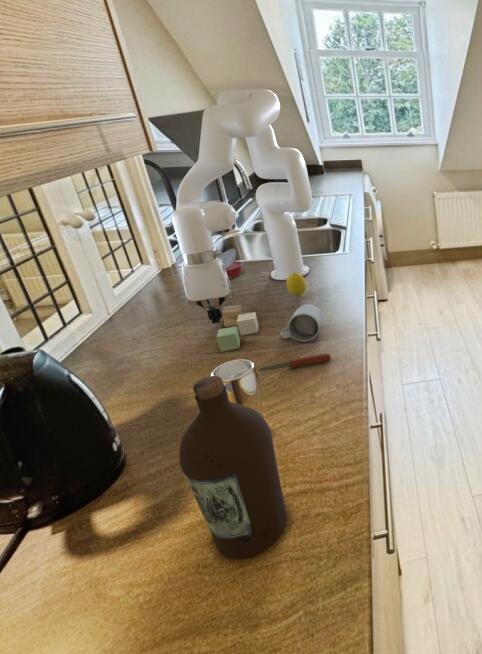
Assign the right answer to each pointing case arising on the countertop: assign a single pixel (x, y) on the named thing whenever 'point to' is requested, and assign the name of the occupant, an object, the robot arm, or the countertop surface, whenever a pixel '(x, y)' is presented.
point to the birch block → (231, 315)
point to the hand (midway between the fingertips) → (216, 320)
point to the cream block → (247, 323)
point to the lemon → (296, 284)
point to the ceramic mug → (304, 324)
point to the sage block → (228, 338)
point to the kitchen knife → (300, 362)
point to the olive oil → (233, 472)
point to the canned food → (231, 263)
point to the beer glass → (241, 383)
